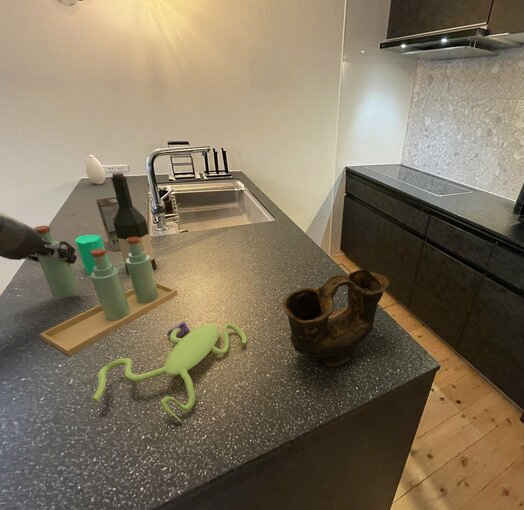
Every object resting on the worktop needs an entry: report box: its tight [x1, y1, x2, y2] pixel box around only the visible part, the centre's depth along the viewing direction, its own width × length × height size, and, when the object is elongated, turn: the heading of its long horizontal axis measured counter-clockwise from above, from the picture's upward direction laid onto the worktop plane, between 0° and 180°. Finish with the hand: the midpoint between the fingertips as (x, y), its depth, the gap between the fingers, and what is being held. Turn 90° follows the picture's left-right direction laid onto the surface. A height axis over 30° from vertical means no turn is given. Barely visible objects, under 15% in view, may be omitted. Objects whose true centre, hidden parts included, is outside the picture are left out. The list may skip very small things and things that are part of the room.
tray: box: [39, 281, 179, 357], centre depth 76 cm, size 26×10×2 cm, turn 155°
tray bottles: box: [90, 237, 159, 321], centre depth 75 cm, size 13×5×18 cm, turn 155°
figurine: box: [91, 320, 248, 424], centre depth 62 cm, size 18×27×6 cm
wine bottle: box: [110, 172, 158, 276], centre depth 88 cm, size 8×8×30 cm
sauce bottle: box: [85, 150, 106, 185], centre depth 166 cm, size 8×8×18 cm
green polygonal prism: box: [74, 233, 110, 275], centre depth 91 cm, size 6×6×12 cm
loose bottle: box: [33, 225, 80, 298], centre depth 74 cm, size 5×5×18 cm
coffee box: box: [95, 196, 121, 252], centre depth 105 cm, size 9×6×16 cm
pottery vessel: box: [281, 269, 390, 369], centre depth 67 cm, size 25×11×20 cm, turn 127°
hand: (59, 260), depth 76 cm, fingers closed on loose bottle, 5 cm apart
